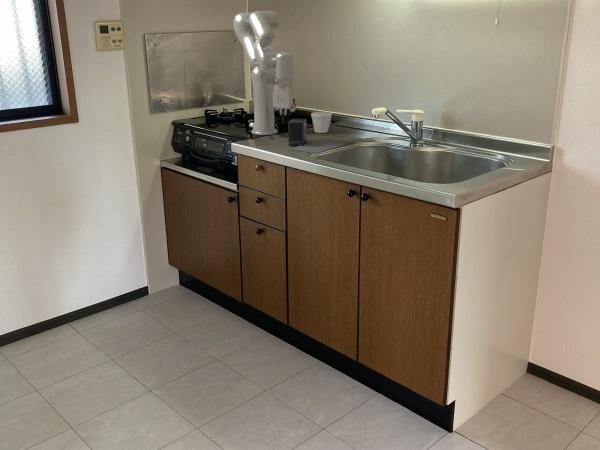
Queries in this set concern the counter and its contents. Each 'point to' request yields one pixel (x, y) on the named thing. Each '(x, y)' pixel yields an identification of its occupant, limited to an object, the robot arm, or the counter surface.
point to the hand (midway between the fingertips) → (285, 123)
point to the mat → (317, 146)
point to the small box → (297, 131)
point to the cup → (321, 121)
